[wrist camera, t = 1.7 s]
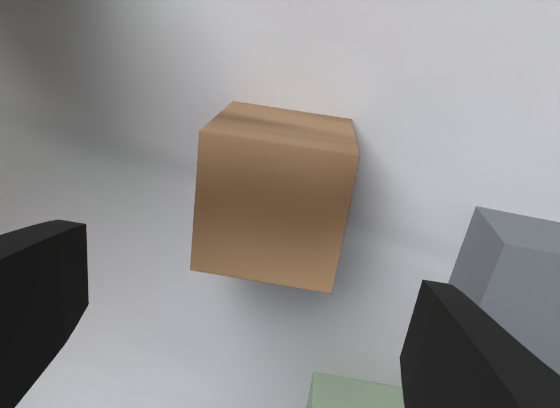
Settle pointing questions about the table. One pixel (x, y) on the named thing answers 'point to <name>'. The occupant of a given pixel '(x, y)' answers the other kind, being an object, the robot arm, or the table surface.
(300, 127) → the walnut block
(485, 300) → the slate base block
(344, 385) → the sage block
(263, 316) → the table surface
